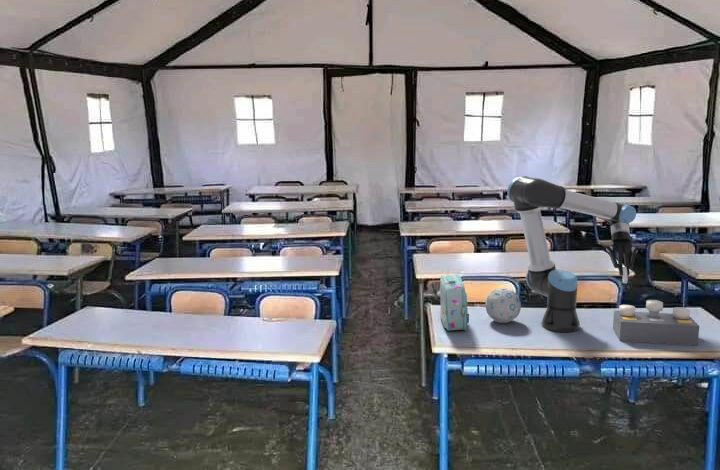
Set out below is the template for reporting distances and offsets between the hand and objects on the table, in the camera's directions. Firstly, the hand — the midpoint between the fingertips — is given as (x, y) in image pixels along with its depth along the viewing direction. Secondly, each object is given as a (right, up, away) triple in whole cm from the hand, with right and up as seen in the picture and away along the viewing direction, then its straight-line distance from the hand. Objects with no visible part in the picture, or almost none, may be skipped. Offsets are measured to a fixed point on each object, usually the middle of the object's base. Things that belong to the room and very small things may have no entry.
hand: (625, 281), depth 240 cm
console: (+7, -21, -9) cm, 24 cm away
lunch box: (-71, -20, +10) cm, 74 cm away
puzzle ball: (-49, -19, +12) cm, 53 cm away
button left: (-2, -18, -6) cm, 19 cm away
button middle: (+7, -15, -8) cm, 19 cm away
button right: (+17, -18, -10) cm, 27 cm away
